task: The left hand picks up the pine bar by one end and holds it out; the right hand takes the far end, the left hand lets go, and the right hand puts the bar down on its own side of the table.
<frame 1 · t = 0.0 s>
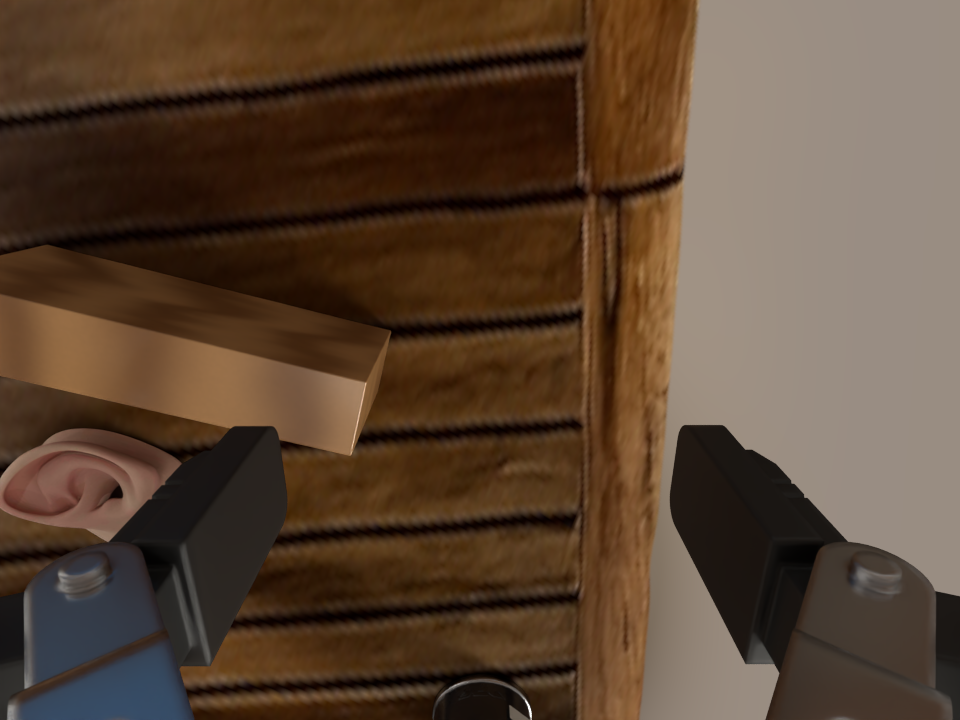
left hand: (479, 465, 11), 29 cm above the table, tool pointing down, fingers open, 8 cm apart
bar: (220, 321, 41), on the table
anatomical model: (124, 487, 46), on the table
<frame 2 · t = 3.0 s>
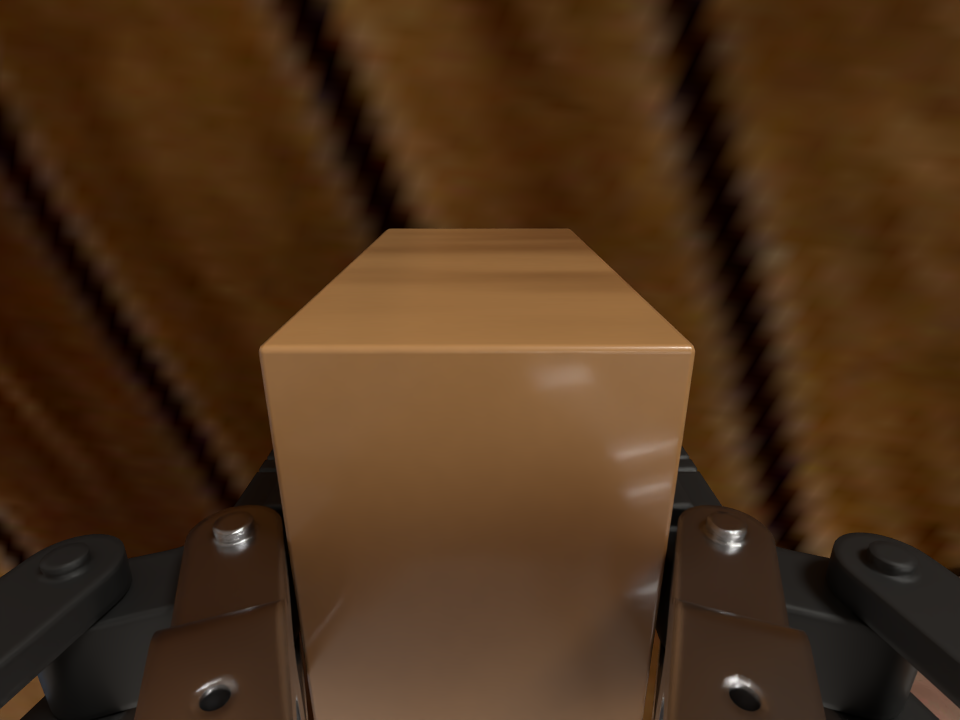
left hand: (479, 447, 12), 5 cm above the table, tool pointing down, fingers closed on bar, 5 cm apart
bar: (479, 582, 20), on the table, touching left hand
anatomical model: (900, 706, 22), on the table
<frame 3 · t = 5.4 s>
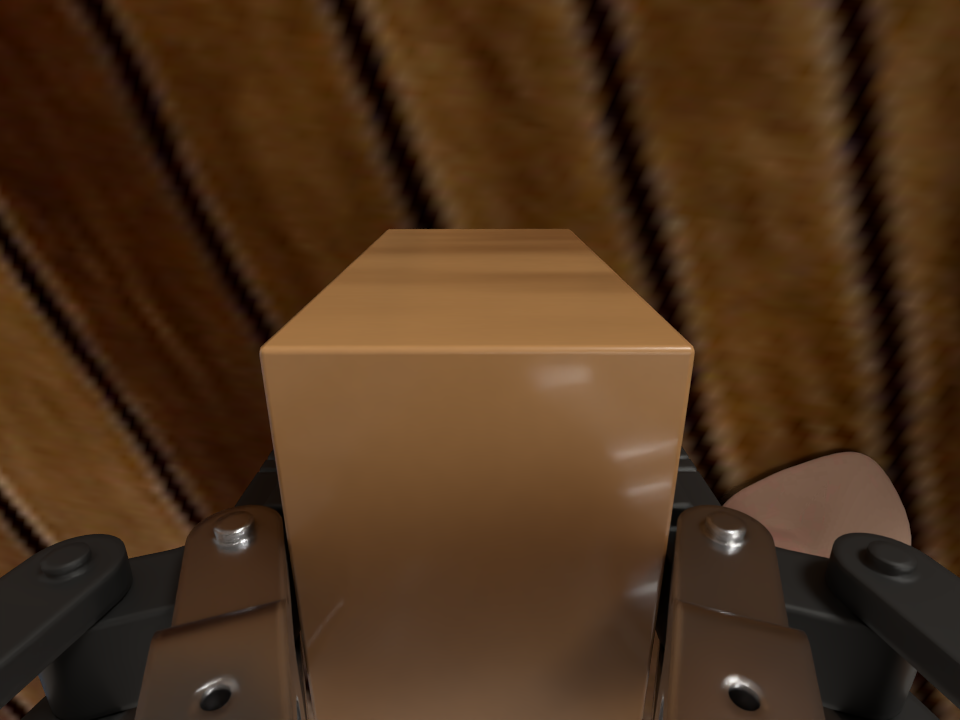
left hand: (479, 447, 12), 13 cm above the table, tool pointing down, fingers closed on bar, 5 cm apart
bar: (479, 582, 20), point 8 cm above the table, touching left hand
anatomical model: (788, 564, 29), on the table
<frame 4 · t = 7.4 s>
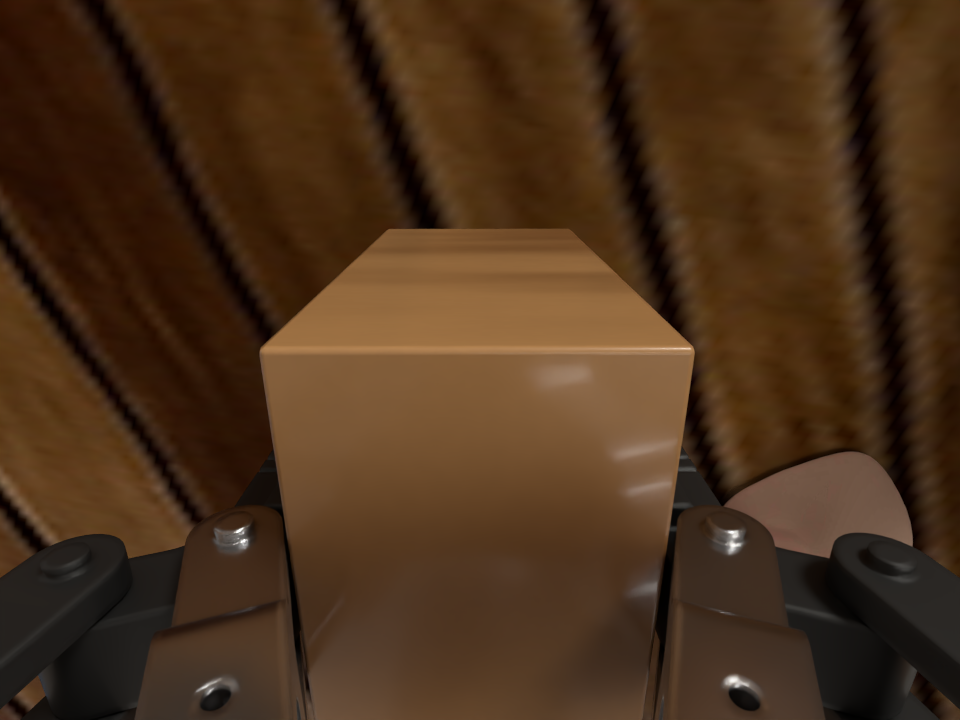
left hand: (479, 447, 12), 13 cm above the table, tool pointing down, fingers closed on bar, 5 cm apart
bar: (479, 581, 20), point 8 cm above the table, touching left hand, right hand
anatomical model: (789, 564, 29), on the table
when the left hand's fingers open (13 cm above the table, at t = 8.1 s): bar stays where it is, held by the right hand.
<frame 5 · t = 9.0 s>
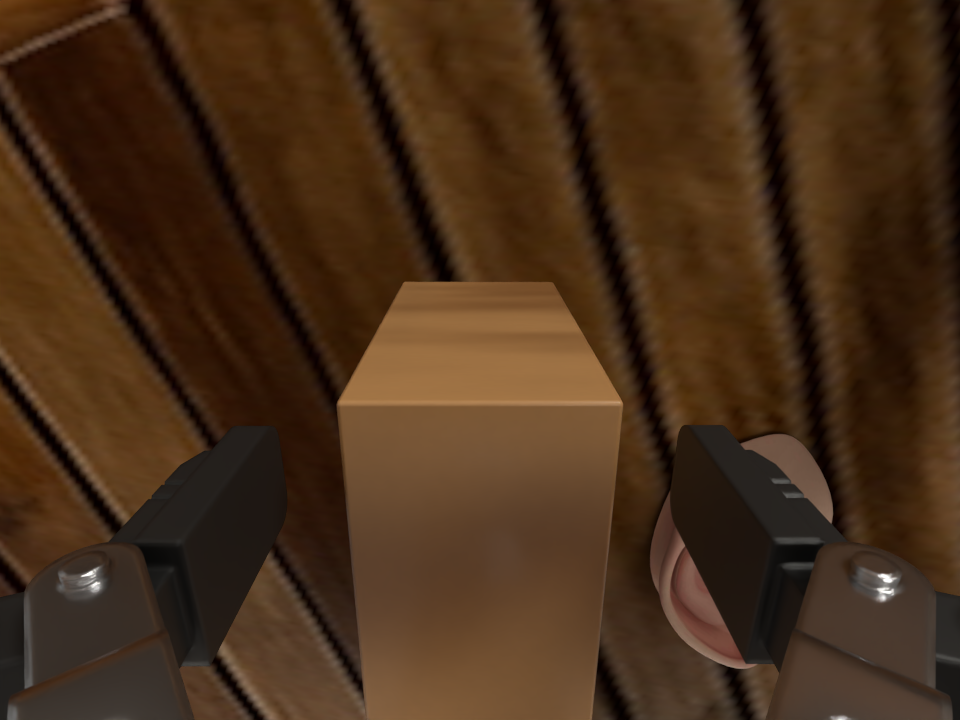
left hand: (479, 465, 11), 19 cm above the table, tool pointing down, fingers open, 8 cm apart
bar: (477, 574, 23), point 11 cm above the table, touching right hand
anatomical model: (733, 529, 35), on the table
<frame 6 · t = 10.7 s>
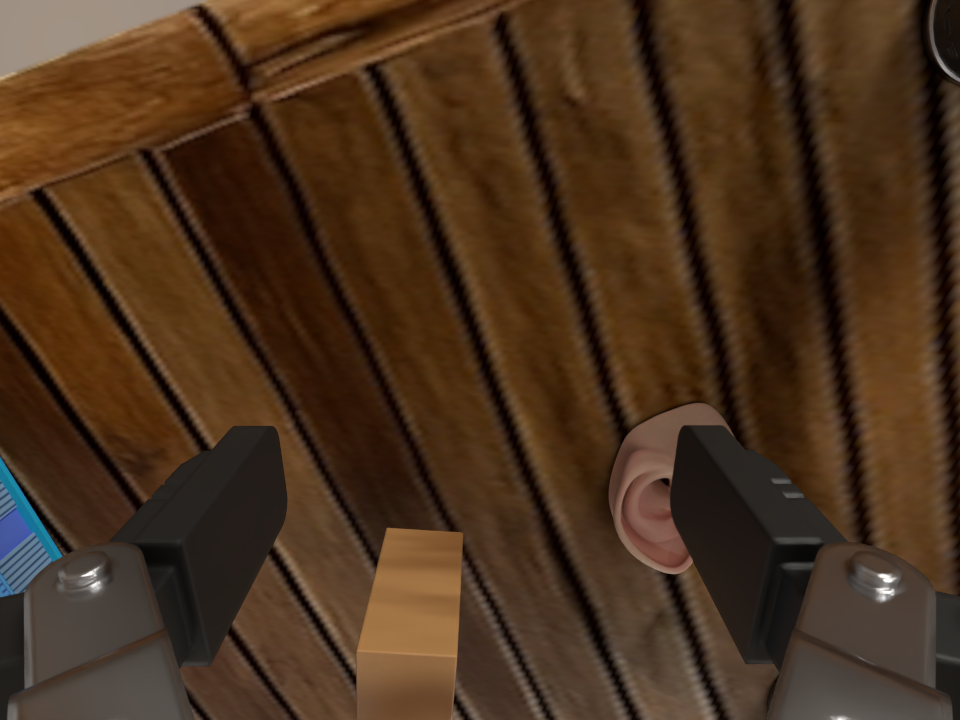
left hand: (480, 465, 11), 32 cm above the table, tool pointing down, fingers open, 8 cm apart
bar: (418, 666, 41), point 11 cm above the table, touching right hand
anatomical model: (669, 474, 48), on the table
when the right hand's fingers open (2 cm above the table, at t = 14.1 s): bar drops 1 cm, on the table.
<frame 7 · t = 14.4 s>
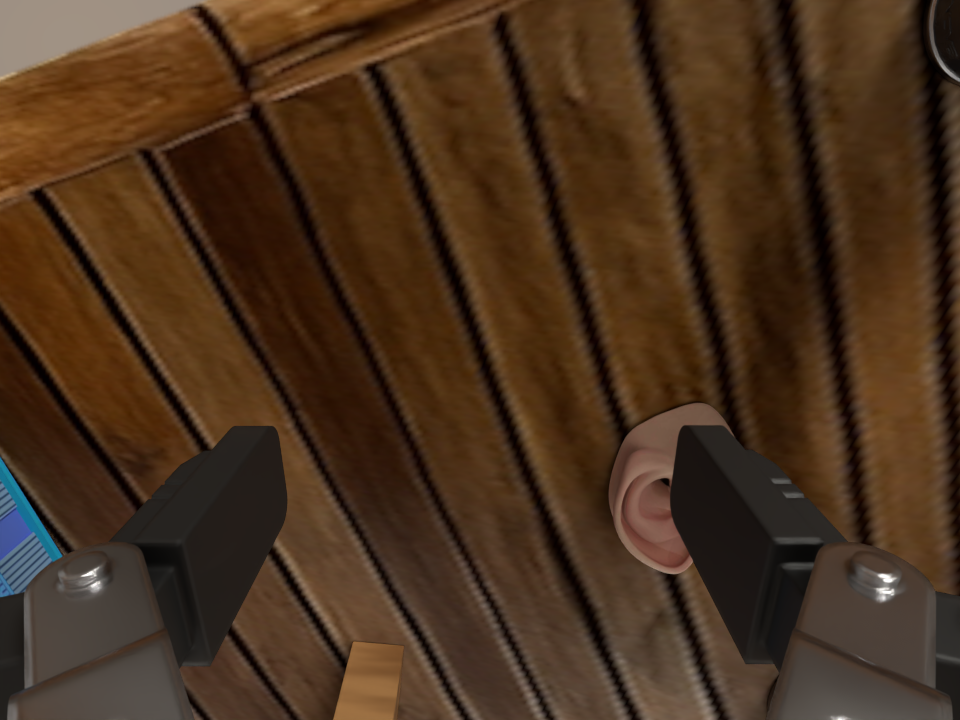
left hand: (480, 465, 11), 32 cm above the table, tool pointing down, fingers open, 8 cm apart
anatomical model: (669, 474, 48), on the table
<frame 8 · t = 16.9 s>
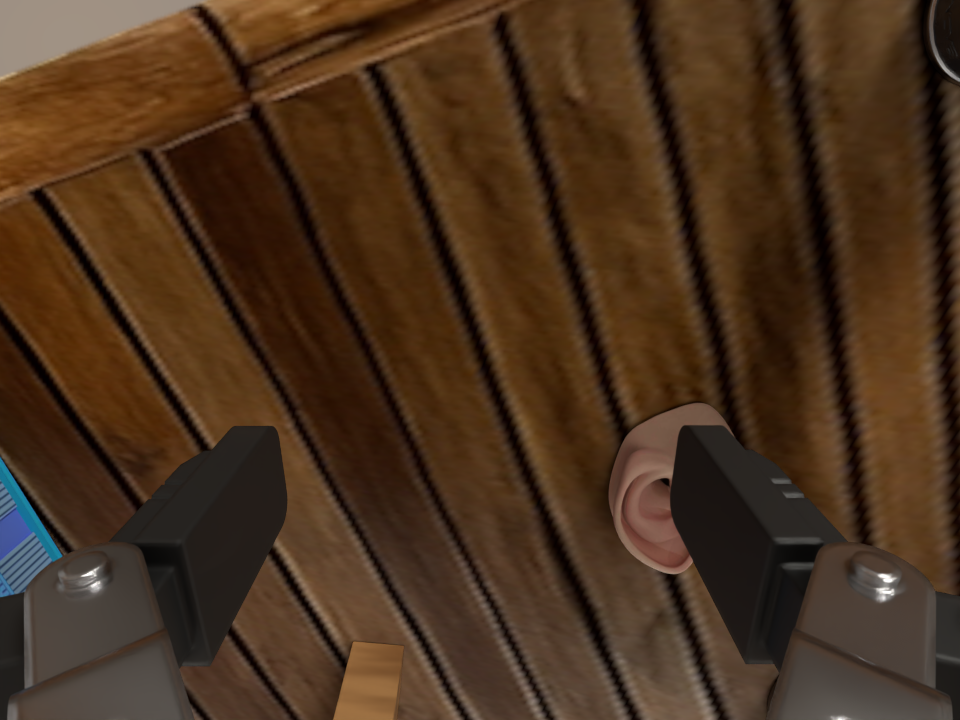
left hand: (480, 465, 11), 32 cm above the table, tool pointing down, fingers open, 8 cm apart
anatomical model: (669, 474, 48), on the table
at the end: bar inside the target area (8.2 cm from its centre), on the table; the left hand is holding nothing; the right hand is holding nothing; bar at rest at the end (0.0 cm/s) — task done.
